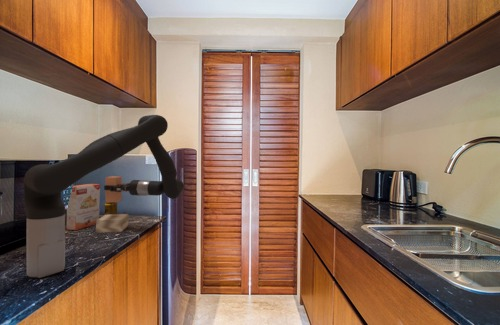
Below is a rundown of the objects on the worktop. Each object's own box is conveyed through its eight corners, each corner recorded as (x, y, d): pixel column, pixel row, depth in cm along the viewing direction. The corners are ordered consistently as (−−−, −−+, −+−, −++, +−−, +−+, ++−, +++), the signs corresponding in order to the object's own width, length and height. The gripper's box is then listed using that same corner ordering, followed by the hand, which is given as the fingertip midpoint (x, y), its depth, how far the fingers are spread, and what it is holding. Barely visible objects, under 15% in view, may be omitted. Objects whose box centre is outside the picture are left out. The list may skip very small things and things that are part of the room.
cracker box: (76, 231, 114) (76, 186, 114) (65, 230, 116) (66, 186, 115) (100, 223, 128) (100, 183, 128) (90, 222, 129) (90, 183, 129)
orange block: (121, 200, 122) (121, 176, 121) (115, 202, 117) (115, 177, 116) (112, 200, 122) (112, 176, 122) (105, 202, 117) (105, 177, 117)
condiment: (101, 220, 133) (101, 198, 133) (115, 217, 141) (115, 196, 141) (109, 222, 130) (109, 200, 130) (123, 219, 138) (124, 198, 137)
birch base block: (128, 225, 126) (128, 214, 126) (121, 232, 115) (121, 219, 115) (105, 226, 124) (105, 214, 124) (95, 233, 113) (96, 220, 113)
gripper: (148, 178, 125) (117, 177, 126) (133, 181, 111) (98, 180, 112) (148, 193, 125) (117, 192, 127) (133, 198, 111) (98, 196, 112)
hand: (108, 186), depth 119 cm, fingers closed on orange block, 5 cm apart
